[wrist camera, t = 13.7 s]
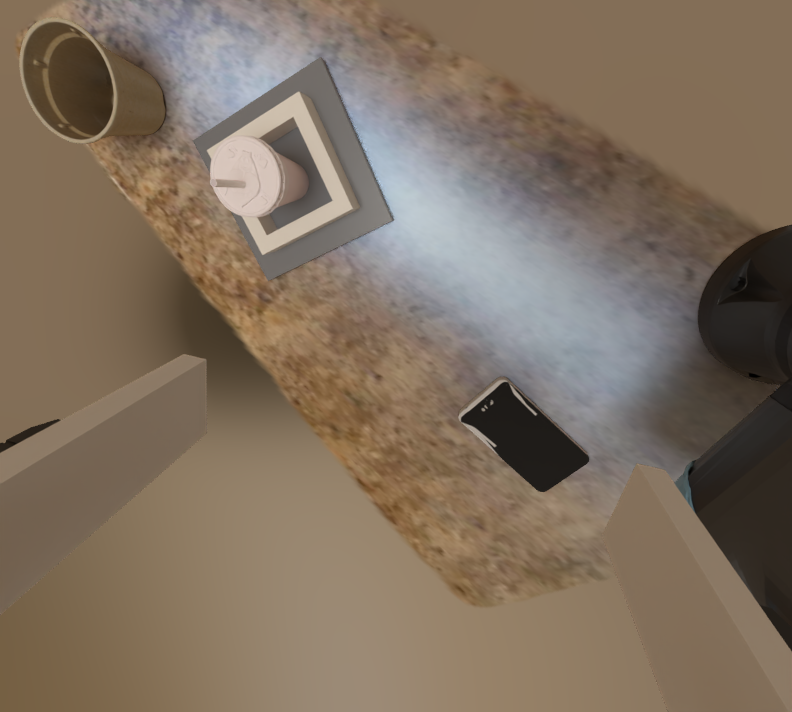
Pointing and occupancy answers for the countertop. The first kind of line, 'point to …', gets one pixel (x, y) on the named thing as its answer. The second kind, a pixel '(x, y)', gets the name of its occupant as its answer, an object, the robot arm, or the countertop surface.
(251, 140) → the smoothie
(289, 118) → the socket
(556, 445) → the smartphone
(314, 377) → the countertop surface
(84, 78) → the flower pot
